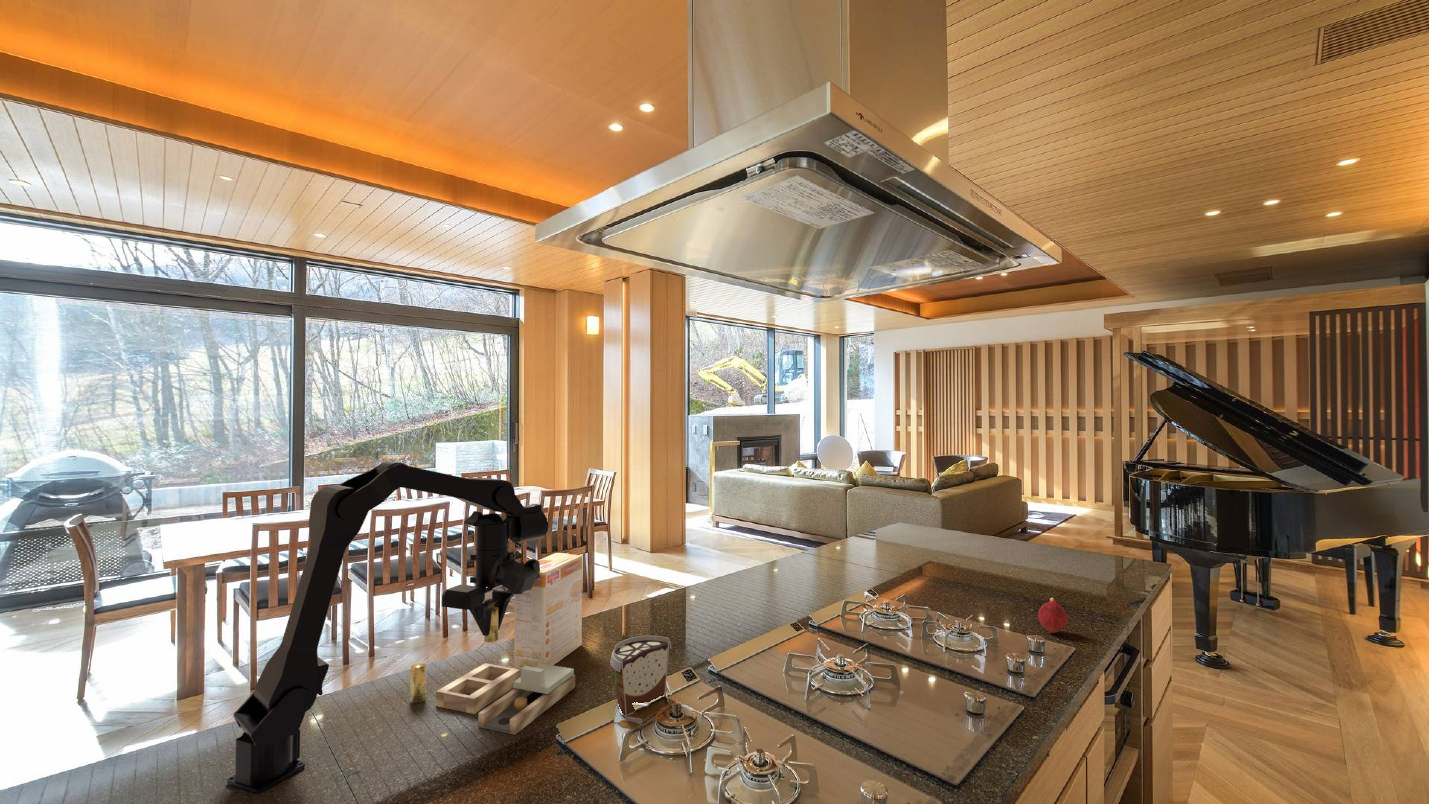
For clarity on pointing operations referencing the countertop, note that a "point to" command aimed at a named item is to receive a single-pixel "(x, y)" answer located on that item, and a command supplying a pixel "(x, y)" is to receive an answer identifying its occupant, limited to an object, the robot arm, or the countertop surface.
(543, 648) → the coffeecake box
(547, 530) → the robot arm
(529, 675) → the lid
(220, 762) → the countertop surface
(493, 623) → the pin
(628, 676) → the food container
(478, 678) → the socket board
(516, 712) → the housing
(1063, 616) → the onion
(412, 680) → the pin
